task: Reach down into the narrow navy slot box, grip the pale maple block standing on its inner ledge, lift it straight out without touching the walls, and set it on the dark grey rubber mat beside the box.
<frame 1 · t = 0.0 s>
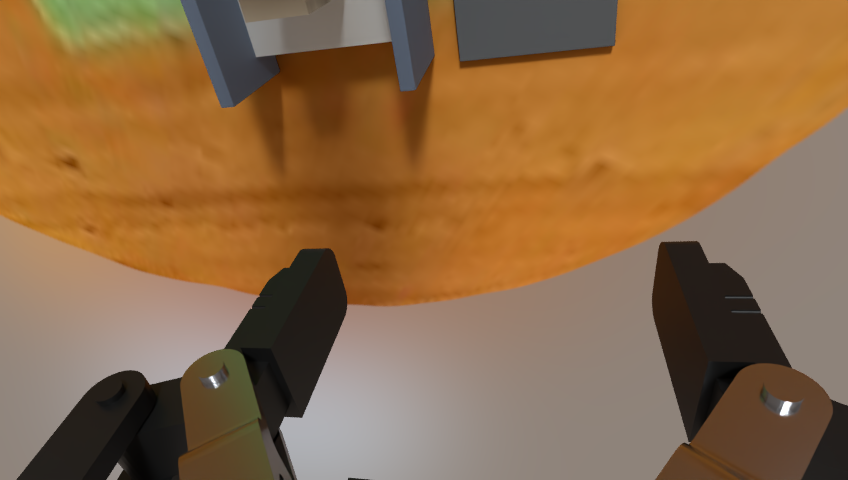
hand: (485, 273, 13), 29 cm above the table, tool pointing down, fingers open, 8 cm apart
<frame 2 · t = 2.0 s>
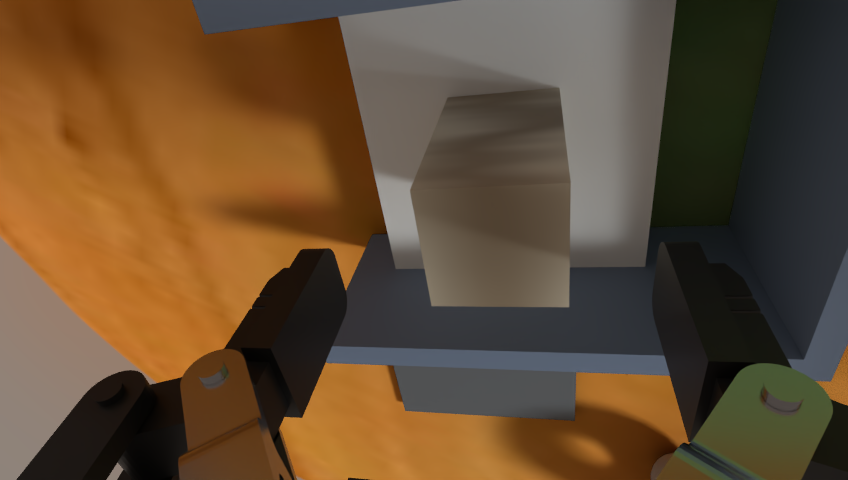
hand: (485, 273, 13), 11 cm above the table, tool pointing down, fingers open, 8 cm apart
rubber mat: (480, 349, 30), on the table
maple block: (505, 144, 19), point 3 cm above the table, touching slot box
slot box: (532, 113, 21), on the table
donut: (674, 462, 33), on the table
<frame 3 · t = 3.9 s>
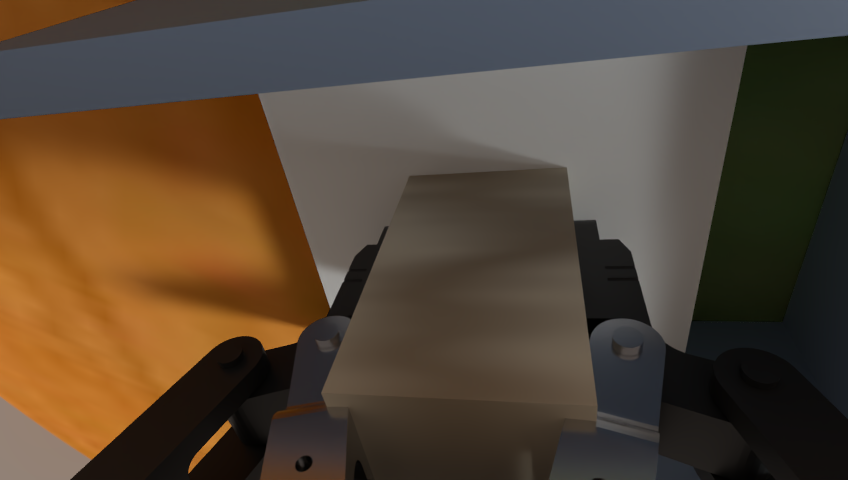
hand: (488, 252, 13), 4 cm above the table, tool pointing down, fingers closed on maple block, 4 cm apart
maple block: (491, 236, 14), point 3 cm above the table, touching gripper, slot box
slot box: (528, 182, 16), on the table
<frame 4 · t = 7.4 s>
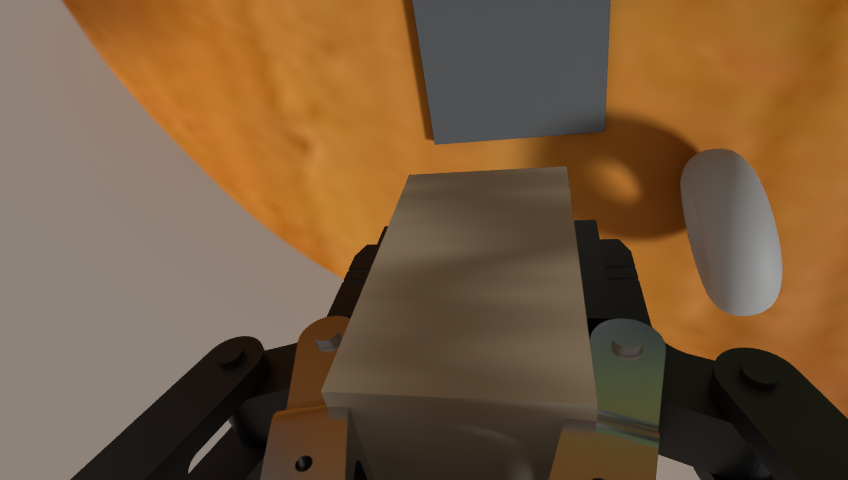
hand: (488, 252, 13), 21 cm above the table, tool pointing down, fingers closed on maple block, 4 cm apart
rubber mat: (511, 50, 31), on the table
maple block: (491, 235, 14), point 20 cm above the table, touching gripper
donut: (702, 188, 34), on the table
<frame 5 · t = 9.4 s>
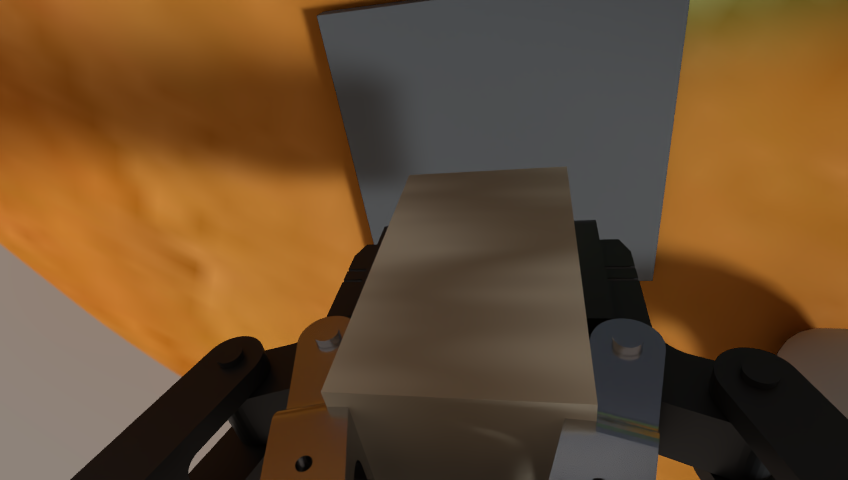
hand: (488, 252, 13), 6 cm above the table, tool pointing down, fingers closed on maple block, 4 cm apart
rubber mat: (502, 154, 18), on the table
maple block: (491, 235, 14), point 5 cm above the table, touching gripper
donut: (799, 357, 22), on the table
when the fingers open (3 cm above the table, at t = 10.8 s): maple block drops 1 cm, resting on rubber mat.
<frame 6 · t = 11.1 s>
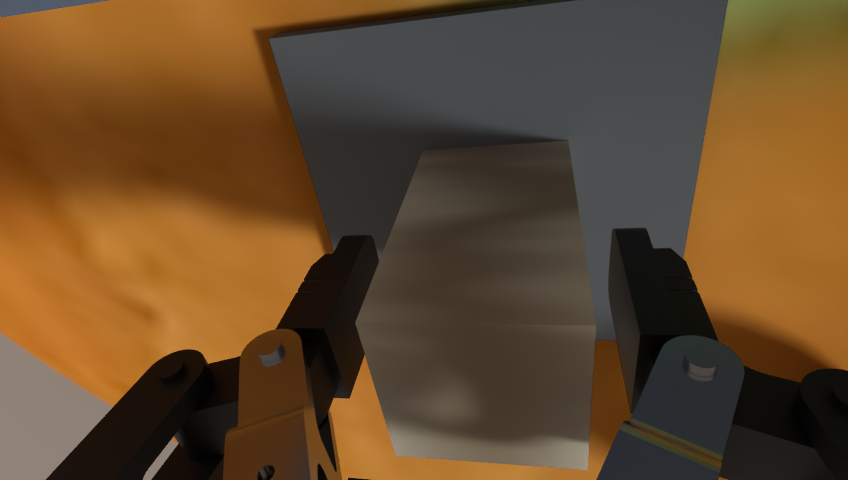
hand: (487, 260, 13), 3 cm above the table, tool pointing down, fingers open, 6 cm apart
rubber mat: (494, 198, 16), on the table
maple block: (498, 207, 15), point 1 cm above the table, touching rubber mat
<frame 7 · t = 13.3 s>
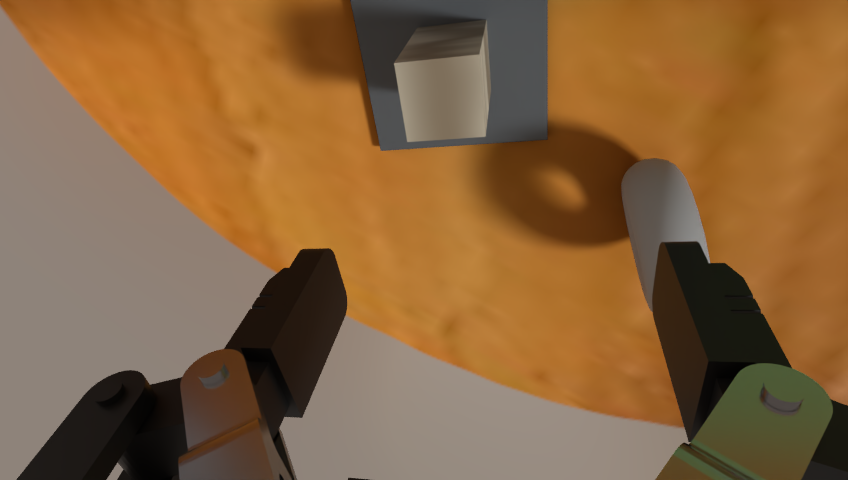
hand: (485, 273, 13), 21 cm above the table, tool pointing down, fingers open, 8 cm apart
rubber mat: (453, 57, 30), on the table
maple block: (455, 59, 30), point 1 cm above the table, touching rubber mat
donut: (645, 196, 34), on the table
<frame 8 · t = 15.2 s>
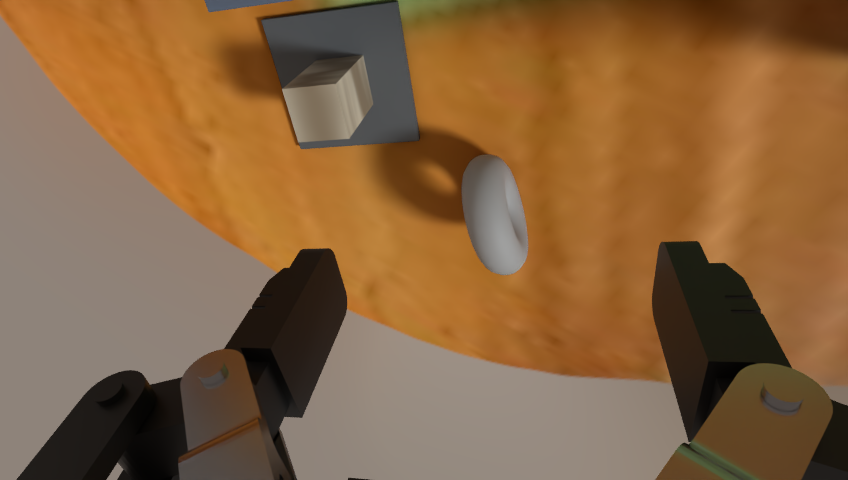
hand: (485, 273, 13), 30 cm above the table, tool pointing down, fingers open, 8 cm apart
rubber mat: (345, 80, 42), on the table
maple block: (345, 82, 41), point 1 cm above the table, touching rubber mat
donut: (499, 183, 45), on the table
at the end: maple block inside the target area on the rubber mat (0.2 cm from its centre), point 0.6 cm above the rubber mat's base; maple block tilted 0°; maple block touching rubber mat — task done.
